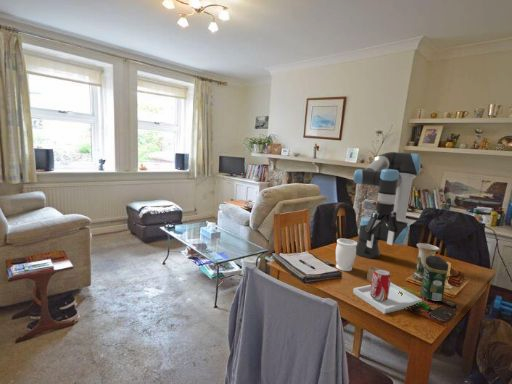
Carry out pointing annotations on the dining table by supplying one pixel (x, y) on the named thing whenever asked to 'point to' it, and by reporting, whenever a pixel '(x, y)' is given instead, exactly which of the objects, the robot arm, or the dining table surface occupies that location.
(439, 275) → the coffee jar
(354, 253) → the jar
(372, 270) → the walnut block
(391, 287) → the tray
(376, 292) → the soda can
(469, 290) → the dining table surface
